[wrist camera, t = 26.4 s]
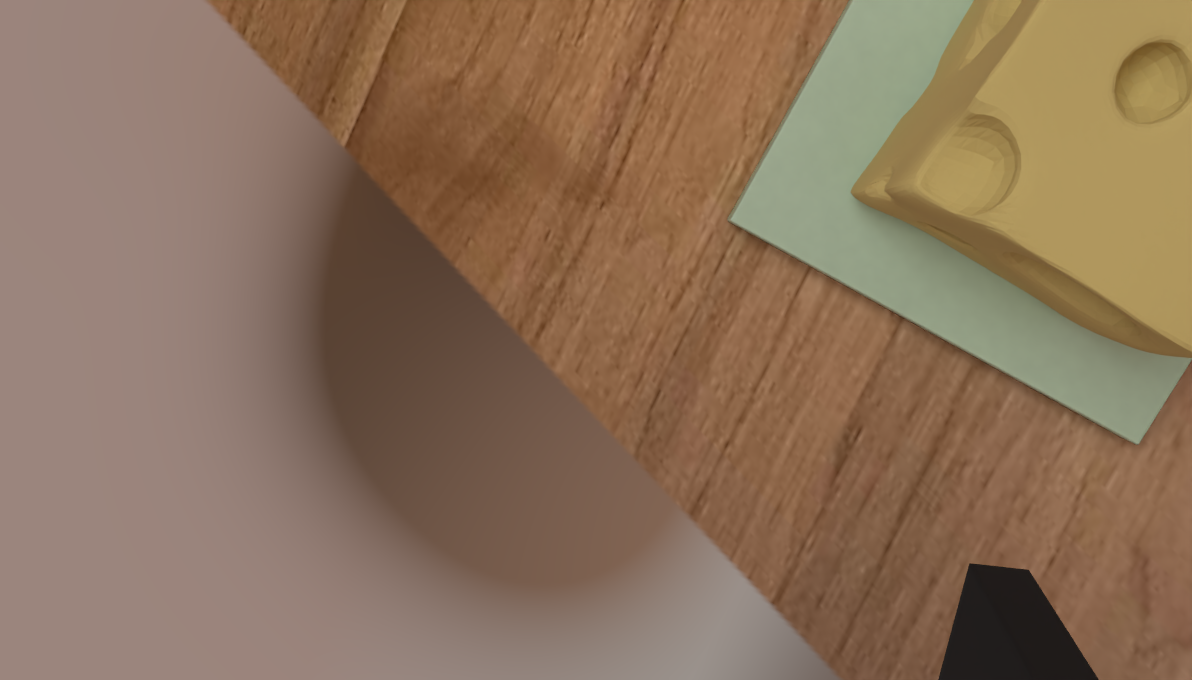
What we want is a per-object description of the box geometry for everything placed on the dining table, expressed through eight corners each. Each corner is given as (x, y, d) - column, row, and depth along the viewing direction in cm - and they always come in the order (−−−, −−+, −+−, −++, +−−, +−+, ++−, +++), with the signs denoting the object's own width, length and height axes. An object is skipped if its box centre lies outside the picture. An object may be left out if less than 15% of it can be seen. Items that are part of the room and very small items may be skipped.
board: (726, 220, 43) (729, 220, 41) (907, -106, 41) (917, -118, 40) (1122, 437, 43) (1138, 445, 42) (1318, 123, 42) (1343, 120, 40)
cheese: (841, 196, 41) (904, 191, 31) (998, -59, 40) (1116, -149, 30) (1075, 336, 41) (1211, 375, 31) (1238, 86, 40) (1435, 46, 30)
